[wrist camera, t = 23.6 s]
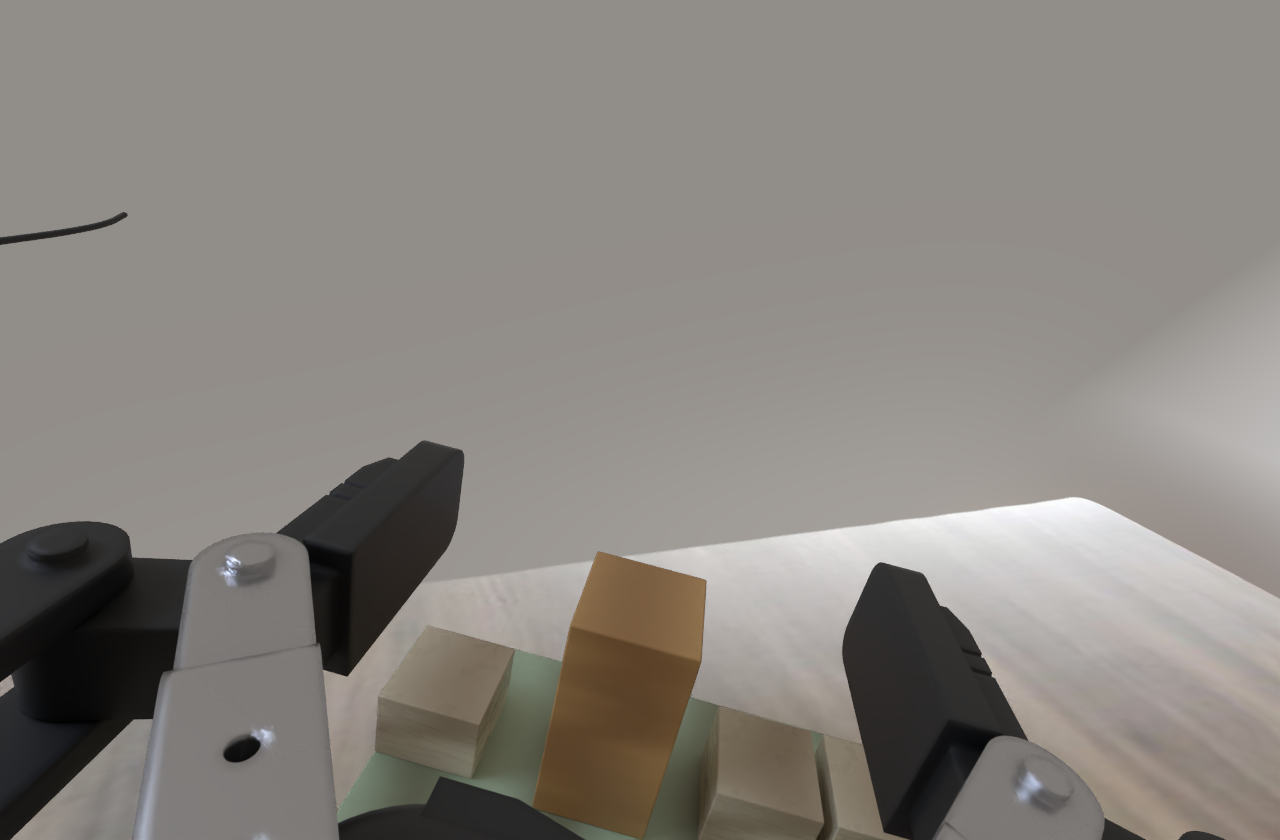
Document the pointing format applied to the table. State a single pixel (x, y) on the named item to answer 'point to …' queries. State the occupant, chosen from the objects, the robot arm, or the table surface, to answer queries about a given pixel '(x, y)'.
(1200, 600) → the table surface
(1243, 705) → the table surface
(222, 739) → the robot arm
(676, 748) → the green block tray
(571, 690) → the brown wooden tall block
